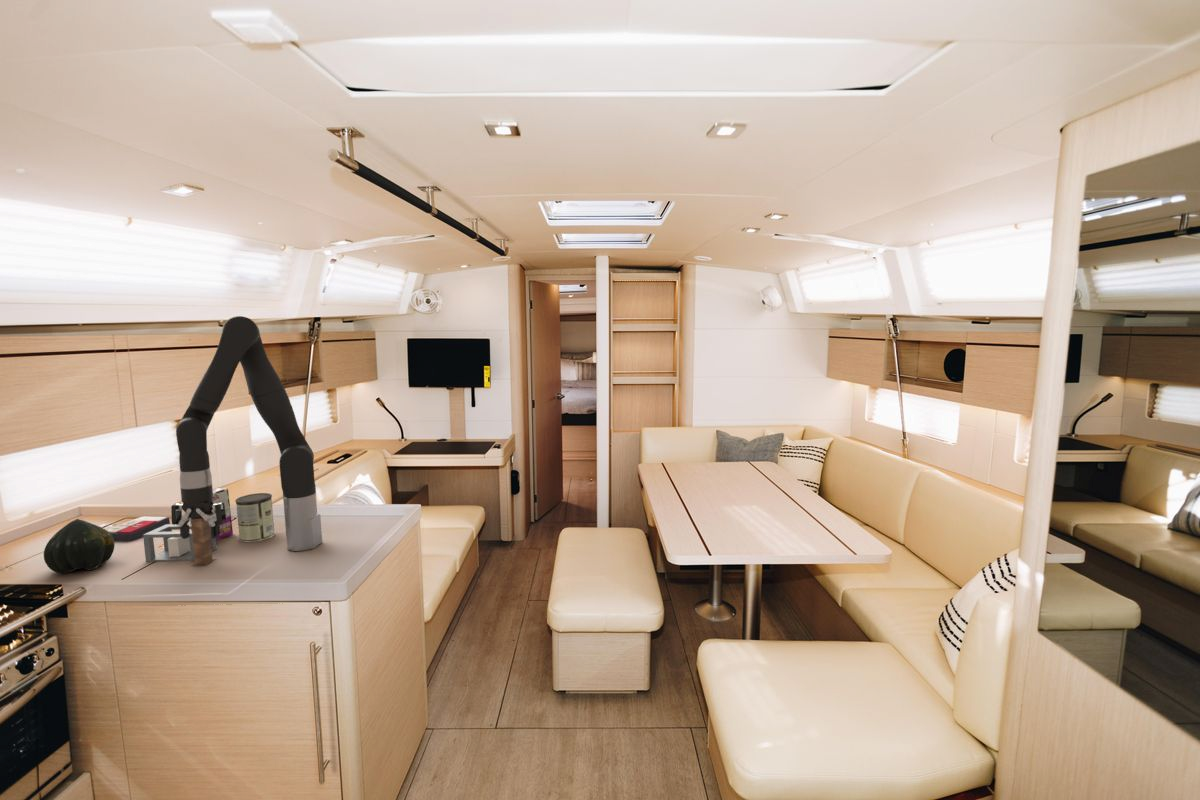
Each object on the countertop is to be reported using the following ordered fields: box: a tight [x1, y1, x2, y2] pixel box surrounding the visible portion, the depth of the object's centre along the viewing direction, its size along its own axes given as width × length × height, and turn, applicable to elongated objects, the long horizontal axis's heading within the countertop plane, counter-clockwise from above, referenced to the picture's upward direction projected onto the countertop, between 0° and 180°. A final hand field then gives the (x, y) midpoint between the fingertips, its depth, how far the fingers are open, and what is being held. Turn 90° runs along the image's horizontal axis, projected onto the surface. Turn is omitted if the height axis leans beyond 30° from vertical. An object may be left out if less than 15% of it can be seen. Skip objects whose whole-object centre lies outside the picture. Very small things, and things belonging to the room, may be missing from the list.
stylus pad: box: [191, 558, 218, 567], centre depth 161 cm, size 4×5×1 cm
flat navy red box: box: [106, 515, 171, 542], centre depth 188 cm, size 11×4×15 cm
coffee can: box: [235, 492, 276, 543], centre depth 182 cm, size 10×10×14 cm
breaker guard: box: [142, 523, 218, 563], centre depth 166 cm, size 15×9×9 cm, turn 92°
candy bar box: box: [189, 487, 234, 541], centre depth 180 cm, size 11×5×16 cm, turn 168°
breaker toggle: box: [167, 537, 190, 557], centre depth 166 cm, size 3×5×7 cm, turn 2°
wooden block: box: [191, 518, 214, 565], centre depth 160 cm, size 3×3×14 cm
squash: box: [43, 518, 116, 574], centre depth 159 cm, size 14×15×15 cm
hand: (200, 537), depth 160 cm, fingers open, 8 cm apart
